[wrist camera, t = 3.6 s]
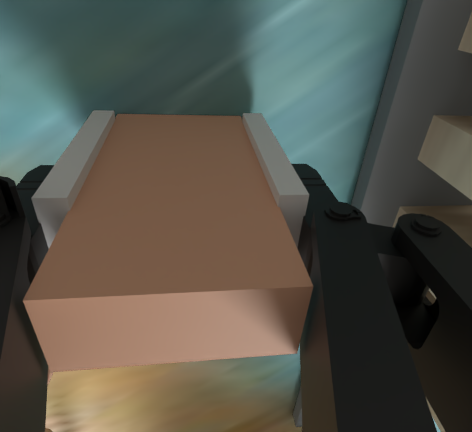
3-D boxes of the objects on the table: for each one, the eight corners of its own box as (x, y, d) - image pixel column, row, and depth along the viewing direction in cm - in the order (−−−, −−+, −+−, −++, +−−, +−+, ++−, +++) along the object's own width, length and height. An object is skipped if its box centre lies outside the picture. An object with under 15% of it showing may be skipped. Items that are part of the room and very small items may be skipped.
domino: (240, 116, 15) (313, 285, 6) (237, 159, 16) (296, 353, 8) (117, 114, 14) (22, 300, 6) (123, 159, 15) (50, 372, 7)
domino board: (656, -66, 13) (689, -70, 12) (393, 404, 30) (399, 416, 30) (432, -89, 12) (451, -95, 11) (292, 414, 29) (295, 426, 28)
